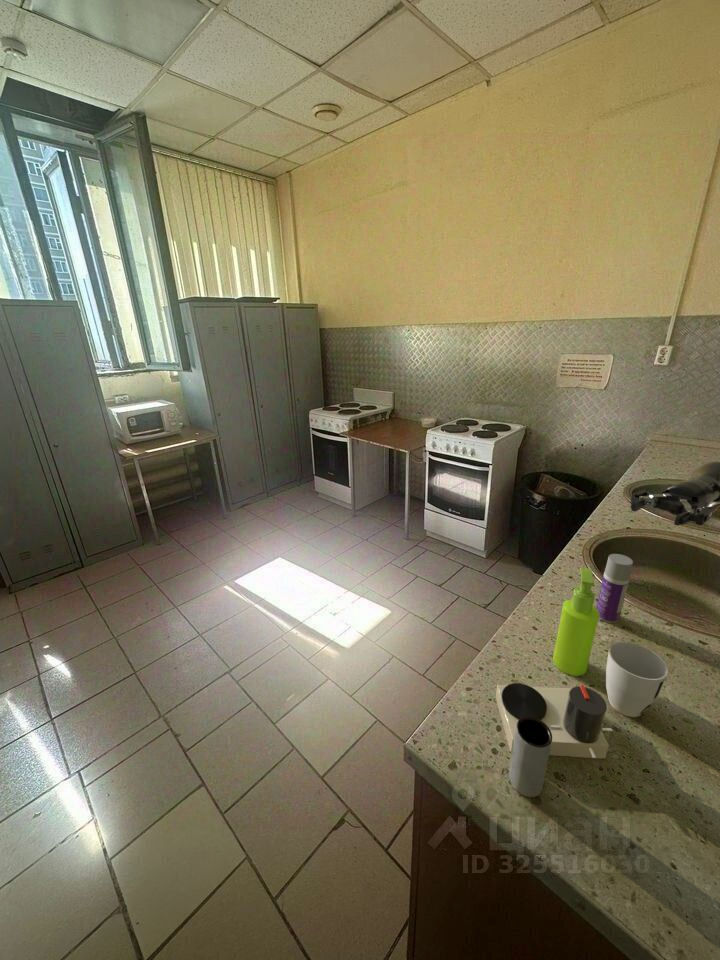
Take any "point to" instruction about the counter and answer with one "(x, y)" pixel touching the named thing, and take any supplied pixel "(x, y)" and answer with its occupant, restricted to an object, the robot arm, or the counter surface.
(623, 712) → the cup
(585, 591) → the soap dispenser
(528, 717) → the planter
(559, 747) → the hob
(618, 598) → the container
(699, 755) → the counter surface
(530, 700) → the hotplate
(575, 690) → the knob
